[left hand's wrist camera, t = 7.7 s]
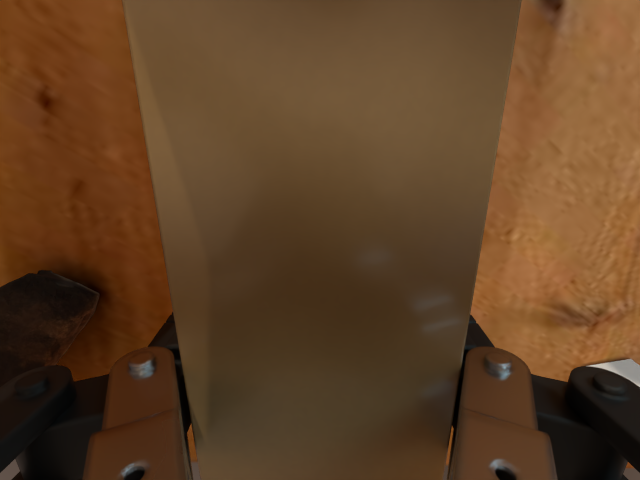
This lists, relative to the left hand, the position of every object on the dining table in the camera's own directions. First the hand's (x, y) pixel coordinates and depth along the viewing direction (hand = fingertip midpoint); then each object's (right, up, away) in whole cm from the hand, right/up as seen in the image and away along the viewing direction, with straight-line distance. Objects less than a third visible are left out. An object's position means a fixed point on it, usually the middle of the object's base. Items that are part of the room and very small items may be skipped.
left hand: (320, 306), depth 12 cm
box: (0, +11, +4) cm, 11 cm away
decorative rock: (-20, -4, +15) cm, 26 cm away
